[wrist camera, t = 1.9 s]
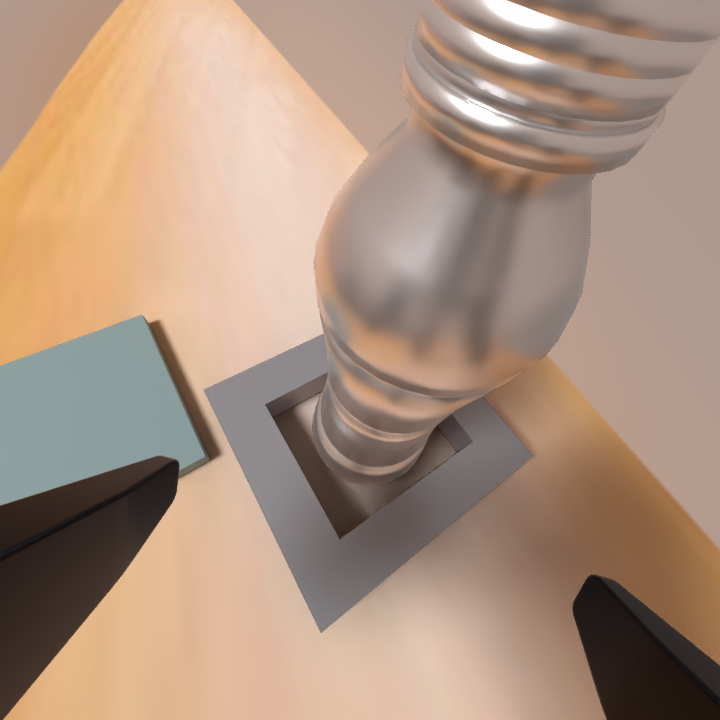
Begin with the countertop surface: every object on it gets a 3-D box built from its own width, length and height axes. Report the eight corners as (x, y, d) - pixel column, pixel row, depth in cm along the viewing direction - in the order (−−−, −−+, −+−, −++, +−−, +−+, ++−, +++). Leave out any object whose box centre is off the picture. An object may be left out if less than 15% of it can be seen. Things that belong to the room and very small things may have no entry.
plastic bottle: (290, 456, 20) (117, -174, 2) (347, 371, 23) (447, -160, 6) (385, 514, 19) (1219, 171, 1) (430, 417, 22) (858, -51, 5)
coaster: (-27, 589, 15) (-47, 592, 14) (-53, 398, 19) (-70, 391, 18) (210, 460, 19) (205, 456, 18) (148, 323, 23) (142, 314, 22)
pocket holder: (320, 621, 16) (321, 632, 14) (215, 405, 21) (203, 389, 19) (510, 464, 21) (533, 455, 19) (392, 319, 26) (399, 298, 23)
